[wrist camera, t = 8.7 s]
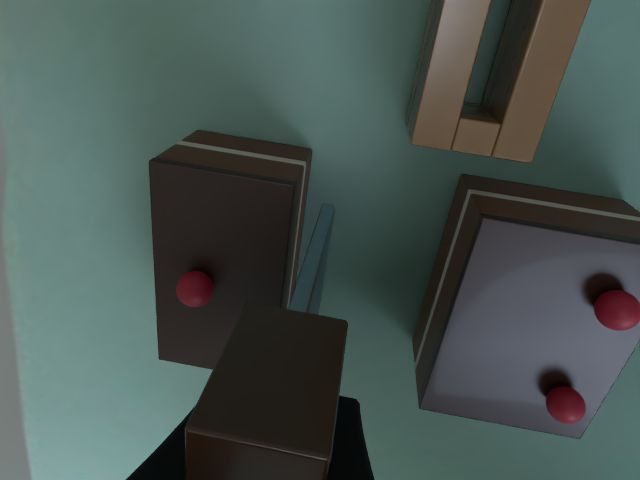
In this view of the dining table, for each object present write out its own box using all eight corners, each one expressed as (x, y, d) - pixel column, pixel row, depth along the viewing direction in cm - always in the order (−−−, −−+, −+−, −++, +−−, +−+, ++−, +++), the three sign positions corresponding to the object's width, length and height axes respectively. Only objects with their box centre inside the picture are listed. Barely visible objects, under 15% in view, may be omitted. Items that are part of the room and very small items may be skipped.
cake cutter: (362, 206, 13) (330, 459, 6) (329, 382, 17) (281, 685, 9) (297, 195, 13) (182, 429, 6) (276, 371, 17) (187, 663, 9)
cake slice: (312, 148, 17) (287, 199, 12) (291, 317, 20) (266, 404, 16) (196, 129, 17) (130, 172, 12) (196, 300, 21) (145, 380, 16)
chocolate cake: (625, 200, 16) (719, 272, 12) (544, 363, 20) (592, 466, 15) (460, 173, 16) (491, 234, 12) (411, 339, 20) (420, 433, 16)
